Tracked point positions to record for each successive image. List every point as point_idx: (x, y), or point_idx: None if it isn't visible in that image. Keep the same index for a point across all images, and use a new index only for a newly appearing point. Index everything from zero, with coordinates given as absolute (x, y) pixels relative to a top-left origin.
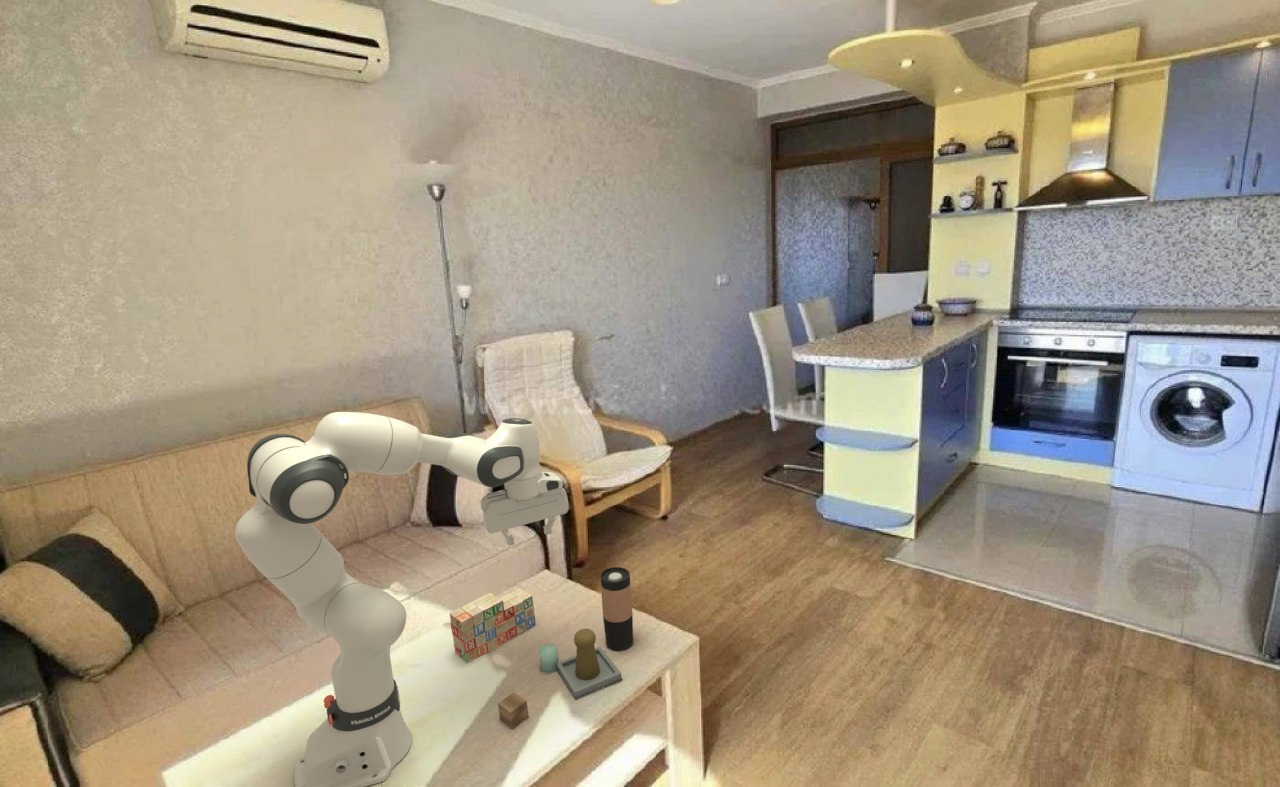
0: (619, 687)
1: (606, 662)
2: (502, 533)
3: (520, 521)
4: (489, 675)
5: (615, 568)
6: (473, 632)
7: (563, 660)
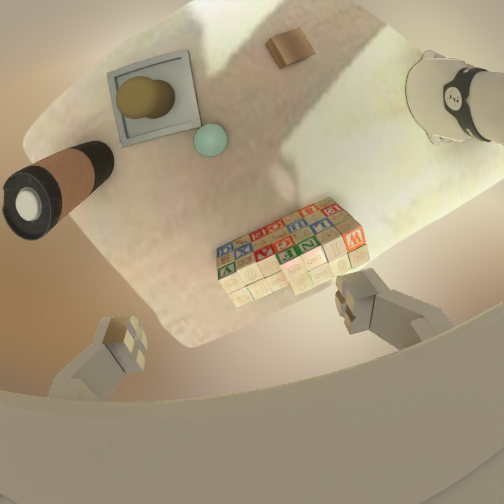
0: (119, 60)
1: None
2: (442, 314)
3: (351, 406)
4: (305, 155)
5: (26, 236)
6: (331, 220)
7: (187, 128)
